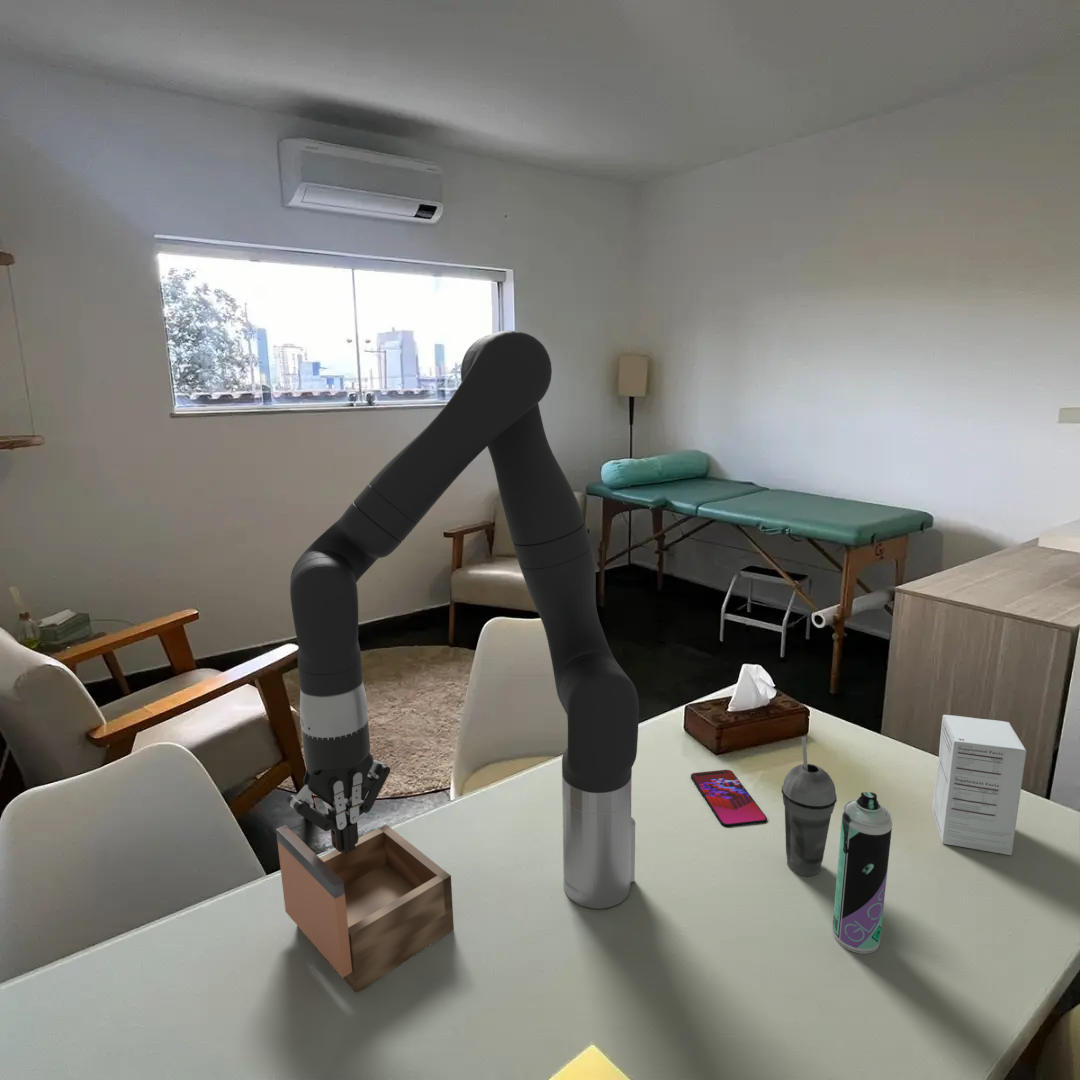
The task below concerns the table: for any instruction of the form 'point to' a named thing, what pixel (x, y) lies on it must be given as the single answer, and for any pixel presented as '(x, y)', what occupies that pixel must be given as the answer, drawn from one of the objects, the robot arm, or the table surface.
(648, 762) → the table surface
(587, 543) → the robot arm
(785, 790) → the beverage cup
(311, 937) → the panel
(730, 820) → the smartphone
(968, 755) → the supplement box
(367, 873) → the box
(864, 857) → the spray can
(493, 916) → the table surface
